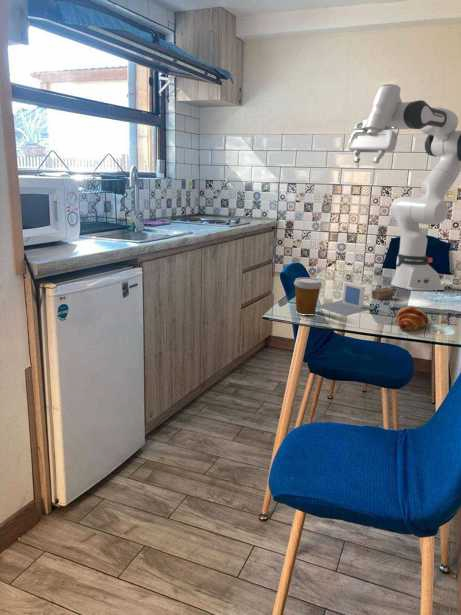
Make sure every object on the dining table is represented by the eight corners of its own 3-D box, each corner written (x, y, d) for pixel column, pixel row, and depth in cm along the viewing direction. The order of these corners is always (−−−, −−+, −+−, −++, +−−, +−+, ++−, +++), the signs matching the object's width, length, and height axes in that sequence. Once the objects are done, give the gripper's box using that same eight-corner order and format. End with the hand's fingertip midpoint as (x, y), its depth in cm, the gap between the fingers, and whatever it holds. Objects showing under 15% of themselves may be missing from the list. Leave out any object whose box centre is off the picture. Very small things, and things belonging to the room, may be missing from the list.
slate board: (344, 301, 196) (345, 299, 196) (375, 310, 186) (376, 308, 186) (314, 308, 185) (314, 306, 185) (345, 317, 175) (345, 315, 175)
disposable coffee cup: (322, 317, 174) (326, 283, 171) (296, 317, 173) (298, 283, 169) (313, 309, 183) (316, 277, 180) (288, 309, 182) (290, 277, 179)
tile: (345, 302, 192) (347, 282, 189) (362, 307, 186) (365, 286, 184) (342, 303, 190) (344, 282, 188) (359, 308, 185) (362, 286, 182)
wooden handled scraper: (396, 299, 203) (397, 289, 202) (370, 305, 192) (372, 295, 191) (381, 295, 208) (382, 286, 207) (355, 301, 197) (356, 291, 196)
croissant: (407, 325, 181) (399, 305, 181) (435, 317, 176) (427, 296, 176) (394, 340, 163) (385, 317, 163) (425, 332, 158) (416, 308, 158)
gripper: (405, 129, 186) (392, 166, 187) (361, 131, 202) (350, 165, 203) (395, 122, 182) (383, 160, 183) (351, 124, 198) (340, 159, 199)
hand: (365, 162), depth 193 cm, fingers open, 8 cm apart
